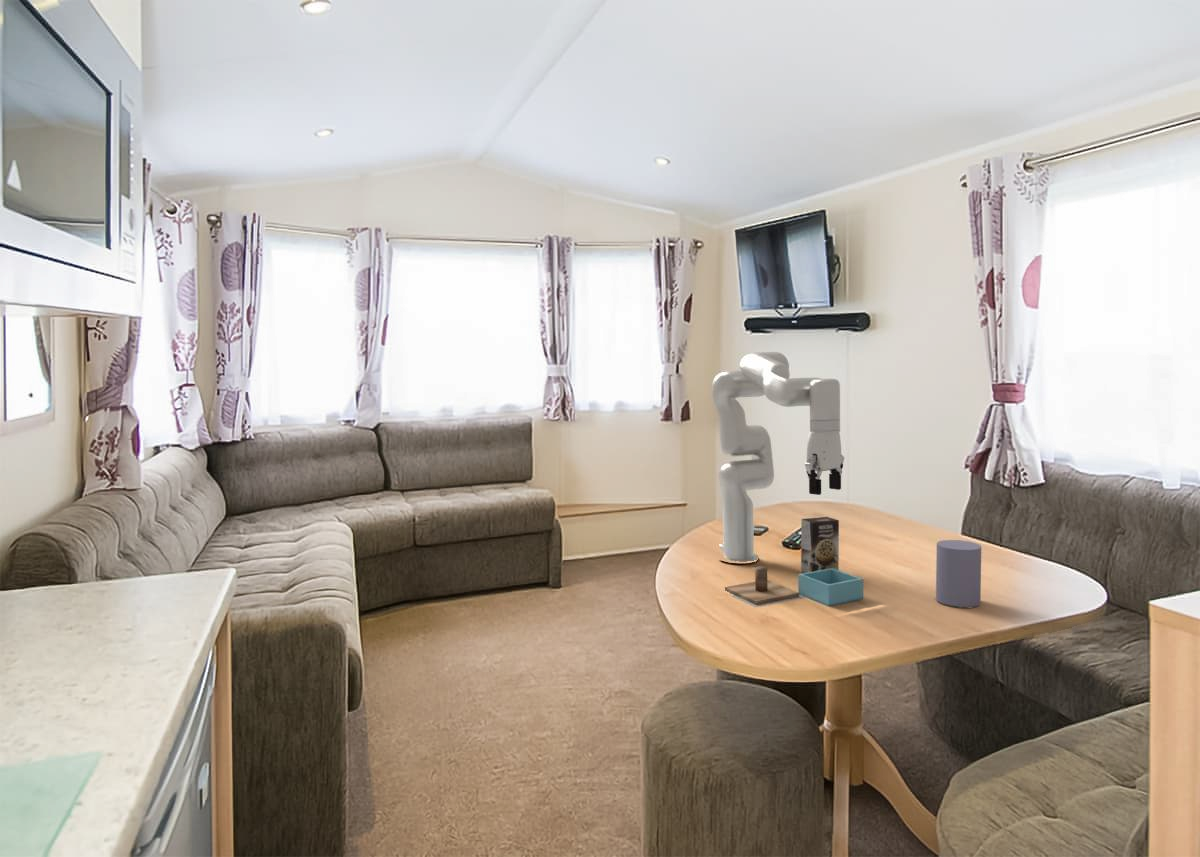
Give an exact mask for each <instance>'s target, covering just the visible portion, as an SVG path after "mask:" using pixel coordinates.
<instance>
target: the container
mask: <svg viewBox="0 0 1200 857" xmlns="http://www.w3.org/2000/svg"><path fill="white" fill-rule="evenodd" d="M935 561H936V566H935V567H936V569H935V572H936V573H935V574H936V575H935V577H936V578H935V582H936V583H935V585H936V586H935V589H936V590H935V599H936V601H937V602H938V603H940V604H942V605H944V604H945V605H944V606H947V605H948V607H951V606H952V608H957V607H973V608H976V607H978V606H980V605H981V597H982V596H981V590H982V589H981V587H982V586H981V584H982V545H981V544H979V543H977V542H974V541H968V540H959V539H958V540H957V539H944V540H940V541H937V542H936V560H935ZM975 606H976V607H975Z"/></svg>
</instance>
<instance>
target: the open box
mask: <svg viewBox="0 0 1200 857" xmlns="http://www.w3.org/2000/svg"><path fill="white" fill-rule="evenodd" d="M797 580H798V581H797V582H798V584H797V586H798V591H797V592H798V593H799V595H801V596H804V597H803V598H807V599H809V600H812V601H815V602H817V603H819V604H820V605H821V604H822V605H824V606H826V607H834V606H837V605H841V604H847V603H851V602H856V601H857V602H858V601H861V600H864V578H862V577H860V576H856V575H854V574H850V573H848V572H845V571H841V570H836V569H833V568H830V569H825V570H819V571H814V572H808V573H804V572H802V573H798V576H797Z"/></svg>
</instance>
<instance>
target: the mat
mask: <svg viewBox="0 0 1200 857" xmlns="http://www.w3.org/2000/svg"><path fill="white" fill-rule="evenodd" d="M729 596H731V593H730V595H729ZM731 597H732V598H735V599H737V600H739V601H741V602H744V603H746V604H747V605H750V606H752V607H754V608H756V607H757V608H758V607H763V606H767V605H773V604H777V603H782V602H787V601H788V602H789V601H793V600H796V599H797V600H799V599H803V598H805V597H804V596H802V595H799V597H795V598H790V599H784V600H779V601H774V602H769V603H764V604H759V605H755V604H753V603H750V602H748V601H746V600H744V599H742V598H740V597H737V596H735V595H732V596H731Z"/></svg>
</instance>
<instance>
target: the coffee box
mask: <svg viewBox="0 0 1200 857" xmlns="http://www.w3.org/2000/svg"><path fill="white" fill-rule="evenodd" d="M839 529H840V520H839V519H836V518H833V517H829V516H821V517H820V516H819V517H809V518H801V532H800V533H801V535H800V536H801V537H800V538H801V539H800V540H801V541H800V542H801V548H800V549H801V551H800V555H801V556H800V571H801V570H802V571H803V572H802V571H801V572H802V573H804V572H805V573H808V572H814V571H819V570H825V569H830V568H833V569H836V570H839V568H840V567H839V562H840V559H839V555H840V554H839V552H840V550H839V549H840V548H839V546H840V545H839V544H840V543H839V542H840V541H839V539H840V538H839V536H840V535H839V534H840V530H839ZM839 571H840V570H839Z"/></svg>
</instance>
